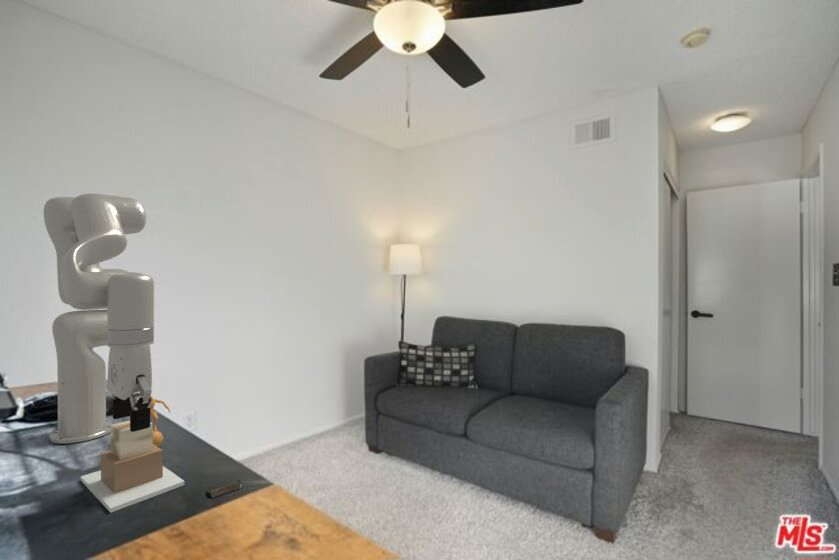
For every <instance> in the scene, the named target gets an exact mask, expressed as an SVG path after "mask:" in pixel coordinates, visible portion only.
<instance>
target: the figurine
mask: <svg viewBox="0 0 839 560" xmlns="http://www.w3.org/2000/svg"><path fill="white" fill-rule="evenodd" d="M150 403H151V407H150V416H152V419H154V421H153V444H154V445H155V446H157V447H159V446H160V445H161V444H162V443H163V440H164V436H163V433H162V432H161V431H159V430H158V428H157V425H156V424H158V420H159V416H158V414H157V412H158V411H157V410H156V409H155V410H154V408H155V405H156V403H157V404H162V405H163V406H164V407H165V408H166V409H167V411H168V413H169V414H171V409H170V408H169V406H168V405H167V403H165V401H163V400H160V399H157V398H153V396H152V395H151V402H150Z"/></svg>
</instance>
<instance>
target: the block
mask: <svg viewBox="0 0 839 560" xmlns="http://www.w3.org/2000/svg"><path fill="white" fill-rule="evenodd" d="M241 489H242V481H241V480H239V479H235V480H233V481H231V482H228V483H226V484H223V485H220V486H218V487H215V488H212V489H210V490H208V491H205V494H206V495H207V496H208V497H209V498H210V499H215V498H218V497H219V498H220V497H222V496H224V495H228V494H230V493H233V492H236V491H239V490H241Z"/></svg>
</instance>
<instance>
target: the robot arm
mask: <svg viewBox="0 0 839 560" xmlns="http://www.w3.org/2000/svg"><path fill="white" fill-rule="evenodd" d="M43 220H44V226H45V229H46V231H47V235H48V236H49V239H50V240H51V242H52V244H53V247H54V249H55V253H56V269H57V270H56V271H57V273H56V274H57V284H58V285H57V288H58V295H59V298H60V301H61V302H62V303H64V304H65V305H68V306H70V307H72V308H73V309H74V311H73V310H72V311H68V312H64V313H60V314H59V315H58V316H57V317H55V319H54V320H53V322H52V329H51V330H52V336H53V341H54V347H55V351H56V353H55V354H56V361H57V362H56V363H57V430H54V431H53V432H52V433H50V434H49V441H50V442H51V443H53V444H63V445H65V444H74V443H83V442H86V441H90V440H91V441H92V440H95V439H98V438H101V437H103V436H105V435H107V434H109V433H111V425H113V424H114V423H112V422H110V421H107V399H106V398H107V392H106V391H108V392H109V393H110V394H111V395H112V418H113V419H112V420H118V419H123V418H127V417H129V421H130V431H132V432H135V431H138V430H142V429H146V428H149V427H150V422H151V415H150V407H151V403H150V402H151V396H152V389H153V388H152V387H153V384H152V383H153V375H152V374H153V372H152V371H153V369H152V368H153V367H152V355H151V345H153V344H154V342H155V333H154V332H155V316H154V315H155V281H154V279H153V277H152V276H150V275H147V274H143V273H141V272H134V271H133V272H131V271H127V270H125V269H120V268H102V267H101V263H102V262H105V261H109V260H112V259H114V258H116V257H118V256H120V255H121V254H122V253H124V251H125V250H126V248H127V246H128V240H127V237H126V235H132V234H137V233H141V232H142V231H143V230H144V228H145V226H146V223H147V213H146V209H145V208H144V205H143V204H142V203H141V202H140V201H139V200H137V199H135V198H132V197H125V196H117V195H110V194H103V193H102V194H101V193H83V194H80V195H78V196H76V197H74V196H73V197H71V196H57V197H51V198H49V199H48V200H46V202H45V204H44V206H43ZM75 309H76V310H75ZM103 346H105V347H106V346H107V347H108V348H109V351H108V352H109V354H108V364H107V368H106V362H105V360H104V358H103V357H102V356H100V355H99V354H98V353H97V352H95V351H94V348H98V347H103ZM106 370H107V373H106ZM106 374H107V375H106ZM106 376H107V377H106ZM106 378H107V379H106Z"/></svg>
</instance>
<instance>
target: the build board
mask: <svg viewBox="0 0 839 560" xmlns="http://www.w3.org/2000/svg"><path fill="white" fill-rule="evenodd" d="M163 456H164V454H163V449H162V448H160V447H159V446H158V447H157V446H155V445H154V444H153V451H149V452H146V453H143V454H139V455H136V456H133V457H129V458H126V459H123V460H120V459H118V458H117V457H116V456H115V455H113V454H112V453H111V449H110V450H106V451H102V452H100V470H98V471H94V472H91V473H88V474H85V475H81V476H80V481H81V482H82V484H83V485H84V486H85V487H86V488H87V489H88V490H89V491H90V492H91V494H93V496H94V497H95V499H98V501H99V502H100V503H101V504H102V506H104V507H105V509H107V511H108V512H109V513H110V514H111V513H114V512H116V511H119V510H122V509H124V508H128V507H129V506H133V505H136V504H137V503H138V504H139V503H140V502H143V501H146V500H148V499H151V498H154V497H156V496H159V495H162V494H164V493H168V492H170V491H172V490H175V489H177V488H180V487H183V486H185V480H184V479H182V478H181V477H180V476H178V475H177V474H175V473H174V472H173V471H171V470H170V469H168V467H165V466H164V465H163V462H164V461H163V459H164V458H163Z"/></svg>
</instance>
